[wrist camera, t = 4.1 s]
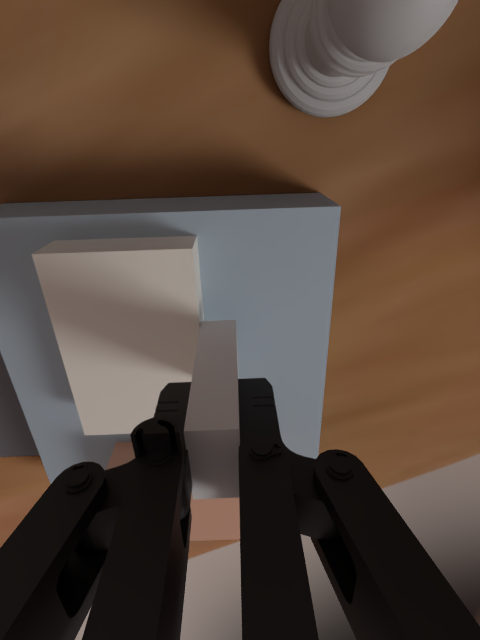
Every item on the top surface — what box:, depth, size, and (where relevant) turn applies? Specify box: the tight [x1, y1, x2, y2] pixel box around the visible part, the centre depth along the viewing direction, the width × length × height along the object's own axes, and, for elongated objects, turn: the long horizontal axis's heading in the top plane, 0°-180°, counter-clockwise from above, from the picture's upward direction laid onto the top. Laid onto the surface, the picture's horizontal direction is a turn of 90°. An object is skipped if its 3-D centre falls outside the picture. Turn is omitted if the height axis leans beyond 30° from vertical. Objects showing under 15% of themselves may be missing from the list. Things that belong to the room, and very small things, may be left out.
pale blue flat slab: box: [0, 193, 341, 484], centre depth 21 cm, size 16×19×4 cm
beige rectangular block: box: [32, 236, 204, 435], centre depth 17 cm, size 6×9×2 cm, turn 2°
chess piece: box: [269, 0, 458, 117], centre depth 12 cm, size 5×5×9 cm
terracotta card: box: [106, 442, 240, 541], centre depth 21 cm, size 9×6×2 cm, turn 92°
